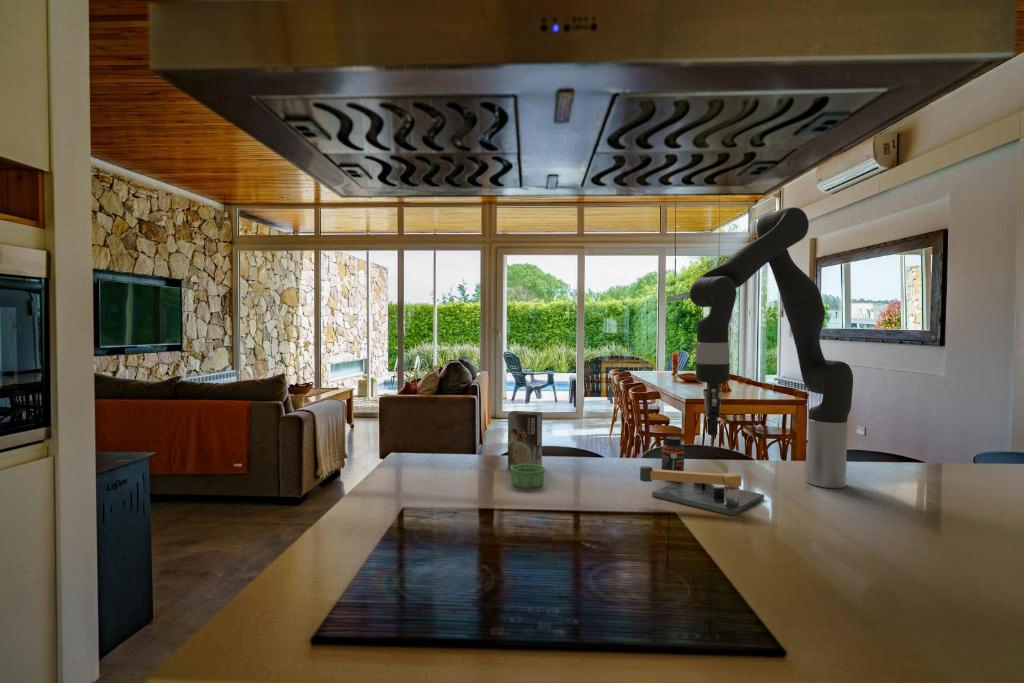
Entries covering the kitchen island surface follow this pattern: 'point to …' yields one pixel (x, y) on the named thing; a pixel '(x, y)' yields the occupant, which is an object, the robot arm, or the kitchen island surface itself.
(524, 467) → the ramekin
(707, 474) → the light wooden bar
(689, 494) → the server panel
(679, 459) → the supplement bottle
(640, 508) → the kitchen island surface
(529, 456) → the coffee box
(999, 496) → the kitchen island surface
